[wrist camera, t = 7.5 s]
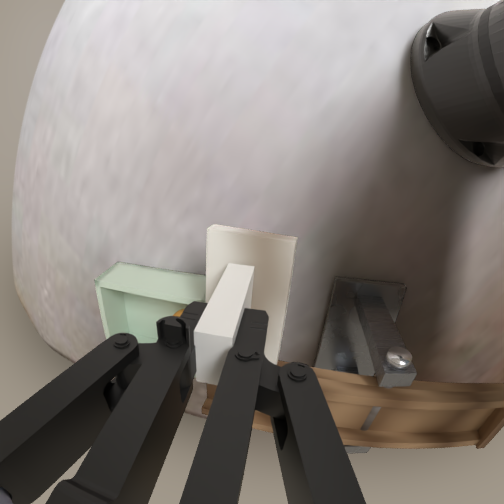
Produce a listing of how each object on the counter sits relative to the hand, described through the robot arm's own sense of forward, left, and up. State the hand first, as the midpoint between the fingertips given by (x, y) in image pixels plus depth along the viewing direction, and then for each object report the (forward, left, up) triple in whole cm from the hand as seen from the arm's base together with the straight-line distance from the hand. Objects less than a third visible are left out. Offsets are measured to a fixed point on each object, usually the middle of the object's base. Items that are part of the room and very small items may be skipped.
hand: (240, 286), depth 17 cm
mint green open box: (+3, -12, -9) cm, 16 cm away
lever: (+10, +7, 0) cm, 12 cm away
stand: (+13, +4, -9) cm, 17 cm away
